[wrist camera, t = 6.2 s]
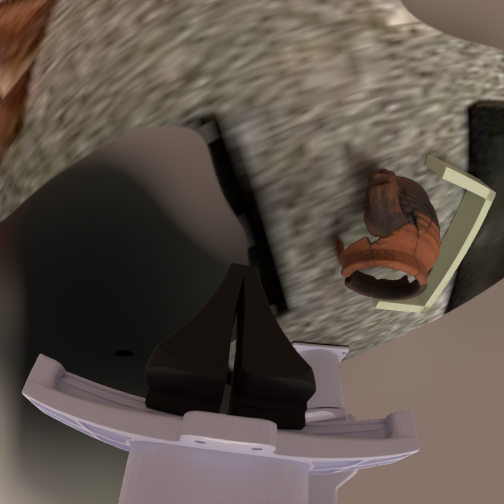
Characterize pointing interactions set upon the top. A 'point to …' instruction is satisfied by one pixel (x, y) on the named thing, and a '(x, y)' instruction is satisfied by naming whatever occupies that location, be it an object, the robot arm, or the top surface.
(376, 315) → the top surface
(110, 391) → the robot arm
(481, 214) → the tray
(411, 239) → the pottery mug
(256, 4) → the top surface
